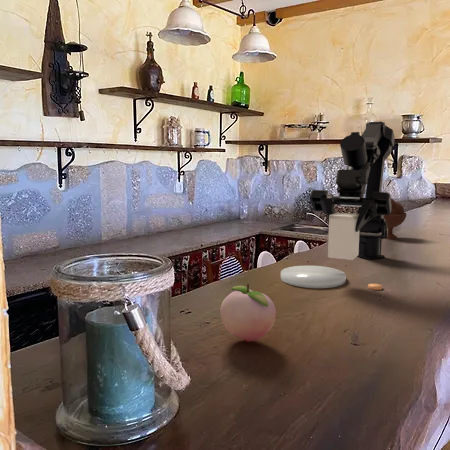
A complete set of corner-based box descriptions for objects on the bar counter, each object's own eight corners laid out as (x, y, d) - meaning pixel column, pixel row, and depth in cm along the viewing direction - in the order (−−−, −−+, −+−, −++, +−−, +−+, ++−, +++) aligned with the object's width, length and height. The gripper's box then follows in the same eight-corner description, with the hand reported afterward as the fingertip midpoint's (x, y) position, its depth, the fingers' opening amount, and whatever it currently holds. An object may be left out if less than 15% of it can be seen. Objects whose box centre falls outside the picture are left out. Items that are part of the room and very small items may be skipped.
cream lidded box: (334, 252, 111) (335, 212, 109) (358, 255, 108) (360, 213, 106) (327, 257, 106) (329, 215, 104) (352, 260, 103) (354, 216, 101)
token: (375, 285, 107) (375, 282, 107) (385, 288, 104) (385, 286, 104) (364, 287, 105) (365, 284, 105) (375, 290, 103) (375, 288, 102)
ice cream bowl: (386, 241, 161) (388, 200, 159) (368, 236, 172) (370, 197, 170) (411, 239, 164) (414, 199, 162) (392, 234, 175) (394, 196, 172)
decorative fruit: (209, 341, 75) (208, 283, 73) (242, 328, 80) (242, 274, 79) (250, 359, 68) (251, 296, 67) (284, 343, 74) (285, 285, 72)
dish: (317, 268, 123) (317, 263, 123) (359, 282, 109) (360, 276, 109) (268, 275, 116) (268, 269, 116) (306, 291, 102) (306, 285, 102)
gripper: (312, 157, 111) (296, 206, 103) (392, 157, 102) (381, 210, 94) (321, 187, 119) (306, 234, 111) (395, 189, 110) (385, 240, 102)
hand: (342, 229), depth 105 cm, fingers closed on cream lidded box, 6 cm apart
